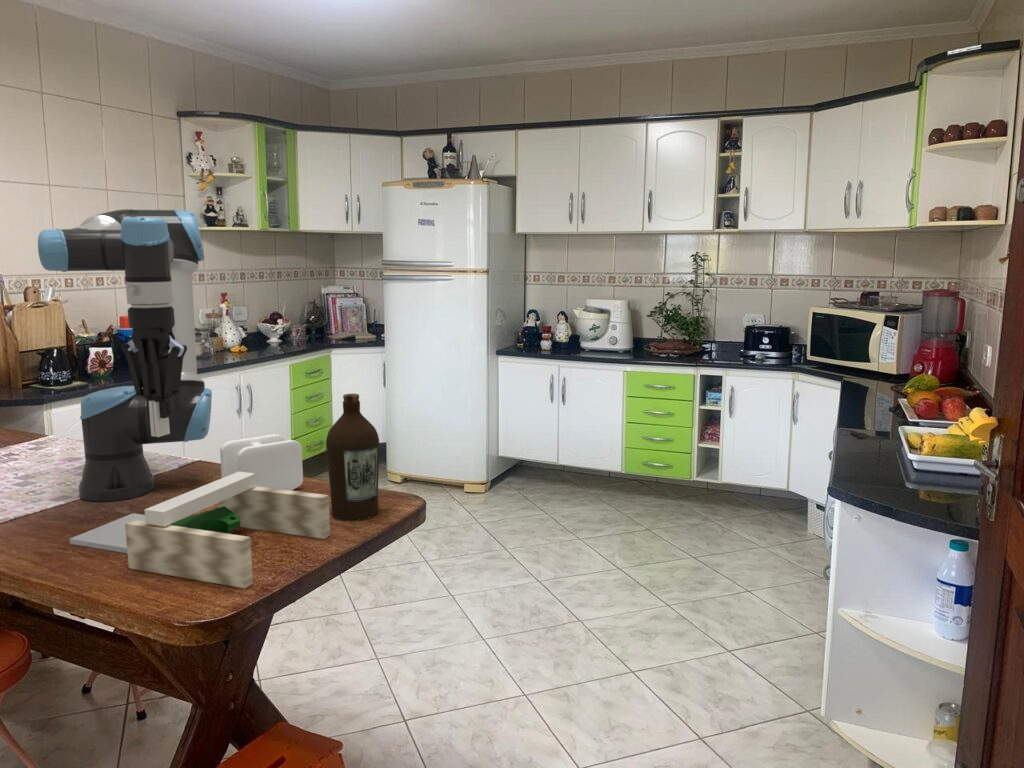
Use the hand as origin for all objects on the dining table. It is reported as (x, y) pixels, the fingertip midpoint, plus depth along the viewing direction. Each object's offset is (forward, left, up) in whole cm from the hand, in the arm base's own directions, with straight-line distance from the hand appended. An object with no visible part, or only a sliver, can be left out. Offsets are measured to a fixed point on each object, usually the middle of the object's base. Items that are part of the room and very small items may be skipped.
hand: (160, 434), depth 143 cm
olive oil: (+25, +25, -21) cm, 41 cm away
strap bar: (+9, 0, -12) cm, 15 cm away
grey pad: (-9, 0, -20) cm, 22 cm away
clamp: (+9, 0, -21) cm, 23 cm away
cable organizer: (-3, +32, -21) cm, 38 cm away
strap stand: (+15, 0, -20) cm, 25 cm away
